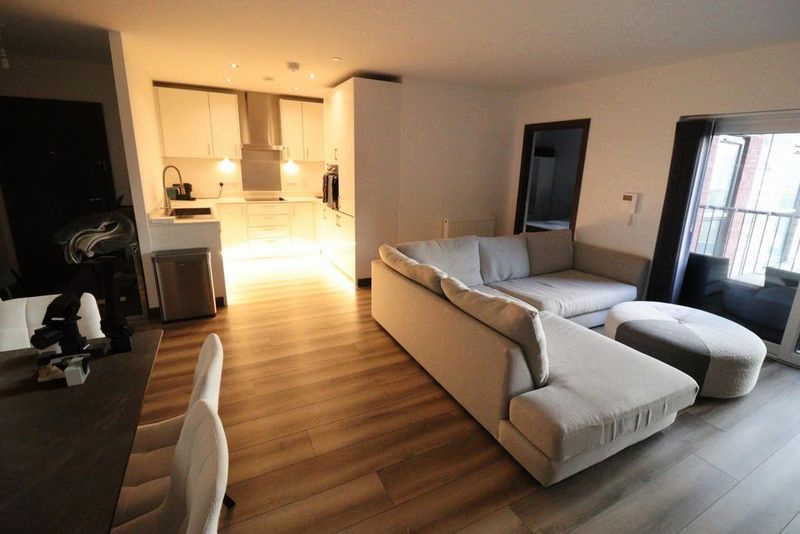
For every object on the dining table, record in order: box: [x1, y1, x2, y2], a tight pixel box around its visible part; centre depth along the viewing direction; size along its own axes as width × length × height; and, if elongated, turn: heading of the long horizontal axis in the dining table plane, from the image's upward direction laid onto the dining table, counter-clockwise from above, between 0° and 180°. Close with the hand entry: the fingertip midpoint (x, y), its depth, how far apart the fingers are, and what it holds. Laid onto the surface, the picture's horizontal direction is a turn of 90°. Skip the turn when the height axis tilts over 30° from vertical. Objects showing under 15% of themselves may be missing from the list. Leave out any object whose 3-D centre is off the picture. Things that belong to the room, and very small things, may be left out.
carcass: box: [37, 355, 81, 383], centre depth 137 cm, size 10×12×6 cm
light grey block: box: [64, 356, 91, 387], centre depth 133 cm, size 4×9×6 cm, turn 26°
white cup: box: [37, 342, 62, 355], centre depth 147 cm, size 8×8×10 cm
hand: (78, 375), depth 133 cm, fingers closed on light grey block, 4 cm apart
